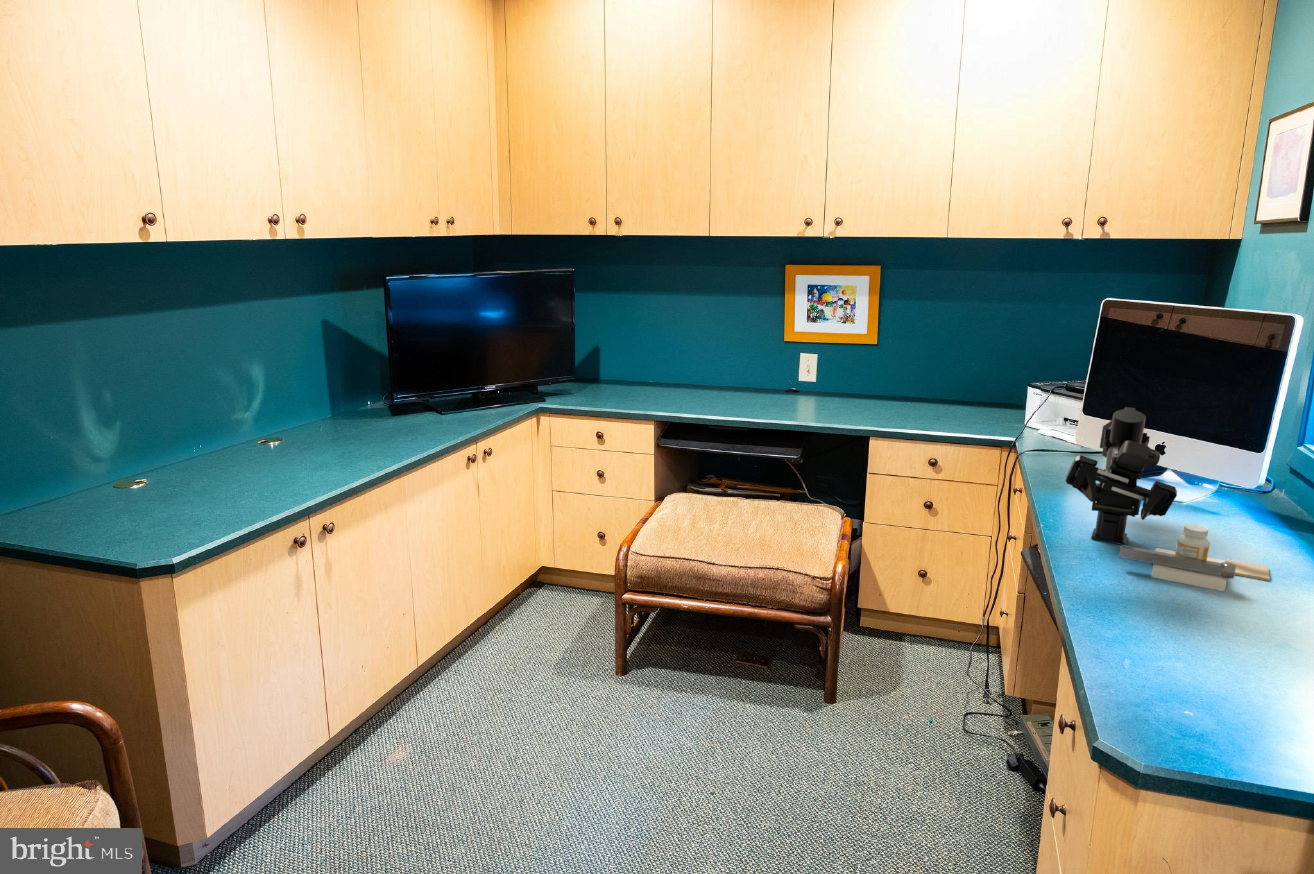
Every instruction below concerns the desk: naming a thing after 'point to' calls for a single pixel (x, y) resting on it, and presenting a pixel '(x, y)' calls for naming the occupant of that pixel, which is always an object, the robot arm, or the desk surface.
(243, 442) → the desk surface
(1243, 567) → the coaster
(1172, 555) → the latch arm
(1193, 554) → the supplement bottle
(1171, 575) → the socket housing
